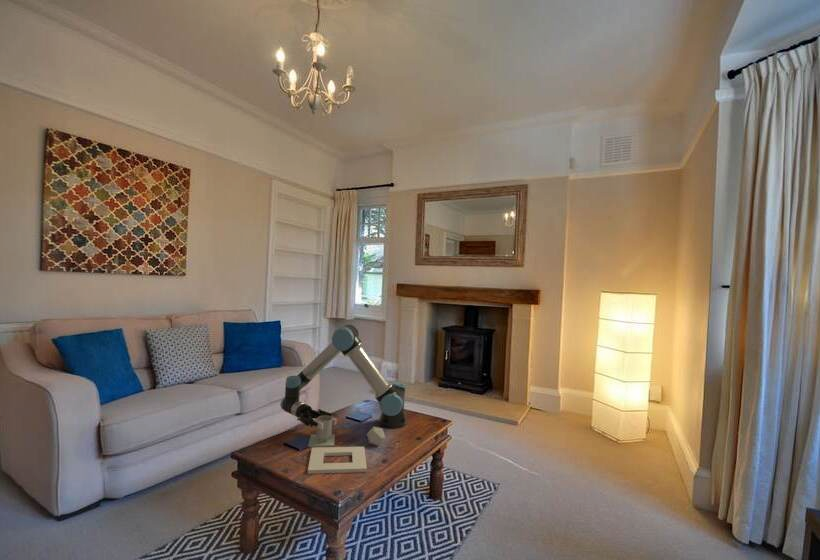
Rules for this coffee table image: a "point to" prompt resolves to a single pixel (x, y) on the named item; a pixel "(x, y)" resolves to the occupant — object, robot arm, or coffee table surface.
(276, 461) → the coffee table surface
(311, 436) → the coaster
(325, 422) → the cup
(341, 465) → the beige flat frame
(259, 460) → the coffee table surface
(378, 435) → the die
